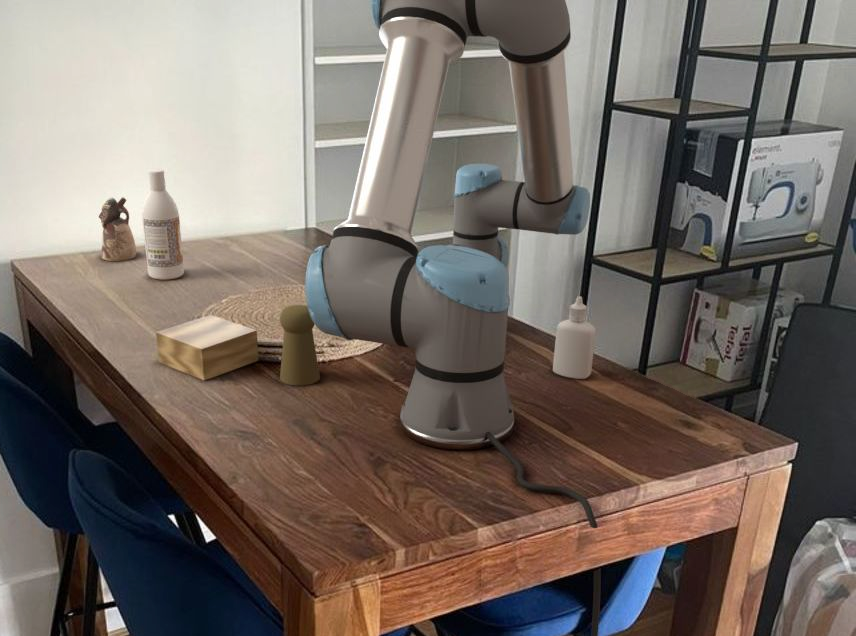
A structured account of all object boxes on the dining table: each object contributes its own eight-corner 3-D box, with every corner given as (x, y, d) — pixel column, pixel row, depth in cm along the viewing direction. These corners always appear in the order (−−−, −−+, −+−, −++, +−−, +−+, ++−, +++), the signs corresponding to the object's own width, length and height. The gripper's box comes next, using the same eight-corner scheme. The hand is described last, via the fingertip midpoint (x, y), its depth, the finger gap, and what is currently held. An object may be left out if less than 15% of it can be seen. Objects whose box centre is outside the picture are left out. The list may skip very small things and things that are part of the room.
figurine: (103, 252, 214) (96, 194, 208) (138, 251, 215) (131, 193, 209) (100, 261, 208) (92, 202, 202) (135, 260, 208) (128, 201, 202)
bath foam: (185, 279, 197) (176, 173, 187) (149, 281, 196) (137, 174, 186) (183, 269, 203) (173, 165, 193) (147, 271, 202) (136, 167, 192)
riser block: (258, 360, 159) (256, 330, 157) (204, 380, 152) (201, 349, 150) (213, 344, 166) (210, 314, 163) (159, 362, 159) (155, 332, 156)
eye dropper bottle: (571, 365, 156) (579, 289, 151) (595, 377, 152) (604, 300, 146) (548, 370, 155) (555, 294, 149) (571, 383, 150) (579, 304, 144)
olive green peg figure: (314, 386, 150) (312, 315, 144) (275, 383, 151) (271, 312, 145) (324, 371, 155) (322, 301, 149) (285, 368, 156) (282, 299, 151)
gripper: (495, 312, 162) (405, 347, 149) (381, 279, 177) (291, 309, 164) (498, 266, 158) (405, 298, 145) (381, 237, 173) (289, 263, 160)
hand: (344, 304), depth 154 cm, fingers open, 13 cm apart
